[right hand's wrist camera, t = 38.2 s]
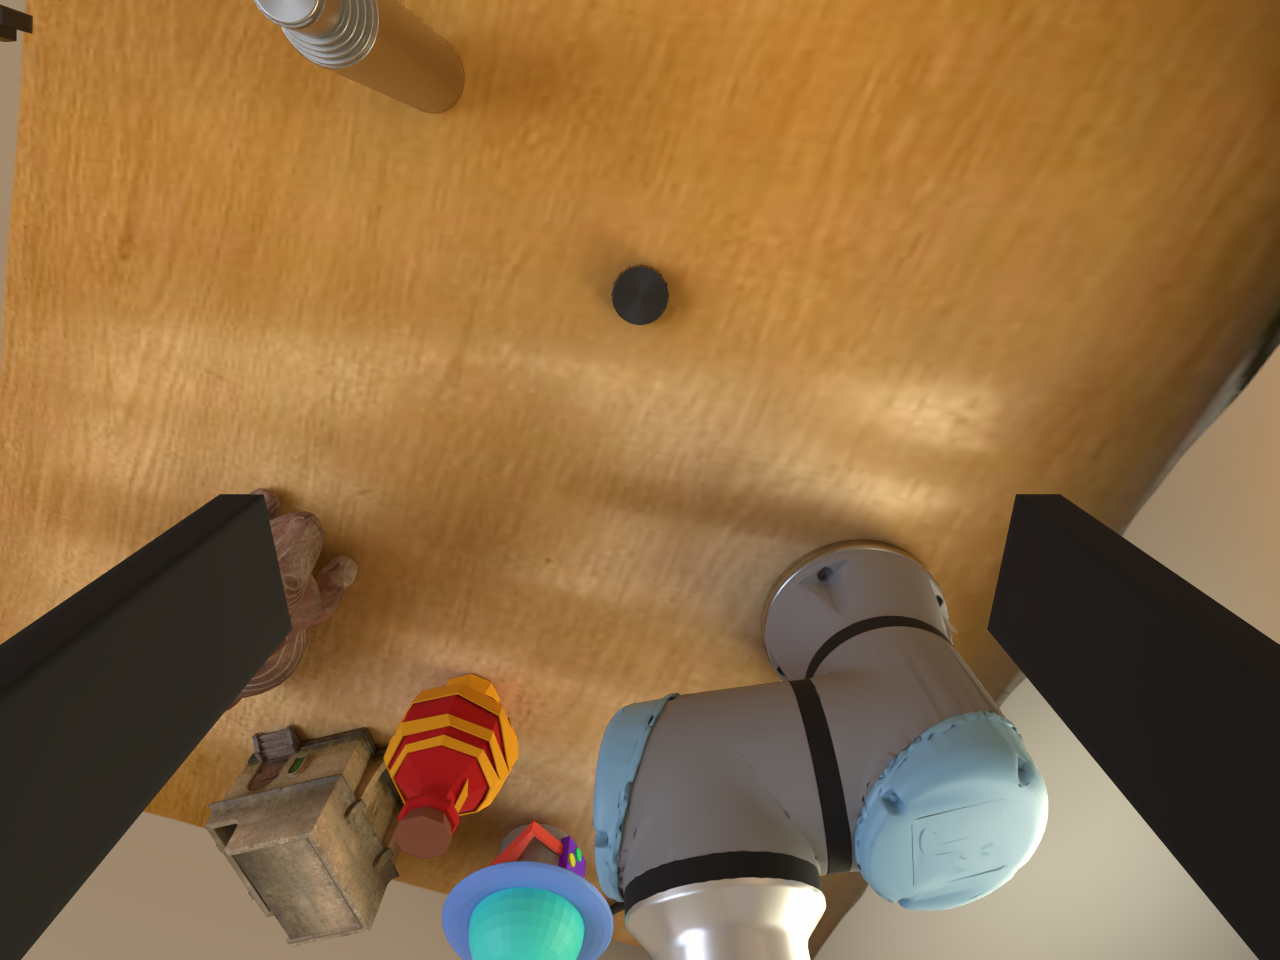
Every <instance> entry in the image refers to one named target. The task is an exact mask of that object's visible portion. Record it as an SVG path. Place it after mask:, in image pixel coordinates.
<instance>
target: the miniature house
mask: <svg viewBox="0 0 1280 960" xmlns="http://www.w3.org/2000/svg"><path fill="white" fill-rule="evenodd" d="M252 738H253V741H254V746H255V751H256V753H254V754H252V756H251V757H250V758H249V760H248V764H247V766H246V767H245V769H244V770H243V771H242V773H241V774H240V776H239V777H238V779H237V780H236V781H235V783H234V784H233V786H232V787H231V788H230V790H229V791H228V793H227V794H226V796H225V797H224V798H223V800H222V801H218V802H214V803H210V804H209V807H210V809H211V816H210V818H209V820H208V821H207V823H206V824H205V827H206V829H207V830H208V832H209V833H210V835H211V836H212V838H213V839H214V840H215V842H216V843H217V845H216V846H217V848H218V849H219V850H220V852H223V854H224V855H225V857H226V858H227V860H228V861H229V863H230V864H231V866H232V867H233V868H234V870H235V871H236V873H237V874H238V876H239V877H240V879H241V880H242V882H243V883H244V885H245V886H246V888H247V889H248V891H249V895H250V896H251V898H252V899H253V900H254V899H255V901H256V902H257V904H258V905H259V907H260V908H261V910H262V911H263V913H264V914H265V916H266V917H270V916H275V917H276V919H277V920H278V922H279V923H280V925H281V926H282V928H283V929H284V931H285V932H286V933H287V935H288V937H287V943H288V944H289V946H291V947H293V946H298V945H303V944H308V943H313V942H318V941H322V940H327V939H332V938H337V937H342V936H347V935H352V934H357V933H362V932H367V931H370V930H371V927H372V924H373V922H374V919H375V916H376V914H377V911H378V908H379V906H380V903H381V900H382V897H383V895H384V892H385V890H386V887H387V885H388V883H389V882H390V881H391V880H392V879H393V878H397V877H399V874H398V872H397V870H396V868H395V867H394V865H395V863H396V860H397V857H398V855H399V852H400V847H399V846H398V844H397V842H396V840H395V839H394V837H393V834H394V833H395V831H396V829H397V827H398V825H399V823H400V822H399V819H398V816H399V814H400V812H401V810H402V808H403V806H404V803H403V801H402V799H401V797H400V795H399V793H398V791H397V789H396V787H395V785H394V783H393V781H392V778H391V776H390V774H389V771H388V770H387V768H386V765H385V762H384V755H385V753H386V750H387V748H388V747H387V748H382V749H377V747H376V745H375V743H374V741H373V739H372V737H371V735H370V734H369V732H368V730H367V728H360V729H356V730H352V731H348V732H343V733H339V734H335V735H331V736H326V737H322V738H318V739H314V740H309V741H305V742H300V740H299V739H298V737H297V735H296V733H295V732H294V730H293V728H292V727H291V725H290V726H287V728H286V729H285V730H281V731H277V732H273V733H269V734H265V735H260V736H259V734H258V733H257V734H254V736H252Z"/></svg>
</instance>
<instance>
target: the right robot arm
mask: <svg viewBox="0 0 1280 960" xmlns="http://www.w3.org/2000/svg"><path fill="white" fill-rule="evenodd" d="M761 630H762V637H763V641H764V645H765V649H766V652H767V655H768V658H769V660H770V662H771V664H772V666H773V668H774V669H775V671H776V672H777V674H778V675H779V677H780V678H781V679H782V680H783V681H782V682H775V683H768V684H760V685H753V686H745V687H738V688H730V689H723V690H715V691H708V692H700V693H693V694H685V695H680V694H678V693H671V694H668V695H666V696H665V697H664V698H662V699H656V700H651V701H645V702H640V703H634V704H630V705H627V706H625V707H623V708H622V709H620V710H619V711H618V712H617V713H616V714H615V715H614V716H613V718H612V719H611V721H610V722H609V724H608V725H607V728H606V730H605V733H604V735H603V739H602V742H601V746H600V751H599V756H598V762H597V769H596V778H595V790H594V807H593V825H594V828H595V830H596V836H595V864H596V870H597V875H598V879H599V883H600V886H601V888H602V890H603V892H604V893H605V894H606V895H607V896H608V897H609V898H610V899H615V900H616V901H618V902H617V903H615V904H613V905H611V906H610V909H611V913H612V915H614V914H616V913H617V912H619V911H622V910H624V909H625V924H626V929H627V930H628V932H629V933H630V934H631V935H632V936H633V937H634V938H635V939H636V940H637V941H638V942H639V943H640V944H641V945H642V946H643V947H644V948H645V949H646V950H647V951H648V952H649V954H650V955H651V957H652V959H653V960H810V956H809V951H808V939H809V937H810V935H811V934H812V932H813V930H814V929H815V927H816V925H817V923H818V922H819V920H820V918H821V916H822V915H823V913H824V911H825V908H826V902H825V897H824V894H823V889H822V885H821V880H820V876H821V875H825V874H826V875H827V874H833V873H841V872H852V871H860V872H861V874H862V877H863V879H864V880H865V881H867V883H868V884H869V885H870V886H871V887H872V889H873V890H874V891H875V892H876V893H877V894H878V895H880V896H881V897H882V898H883V899H885V900H887V901H889V902H891V903H894V902H896V901H898V902H899V904H900V905H901V906H902V907H904V908H907V909H911V910H919V911H936V910H943V909H949V908H954V907H958V906H961V905H964V904H967V903H970V902H973V901H975V900H977V899H980V898H982V897H984V896H986V895H987V894H989V893H991V892H993V891H994V890H996V889H997V888H999V887H1000V886H1002V885H1003V884H1004V883H1006V882H1007V881H1008V880H1010V879H1011V878H1012V877H1013V875H1014V873H1015V872H1016V871H1017V870H1018V869H1019V868H1020V867H1022V866H1023V865H1024V864H1025V863H1026V862H1027V861H1028V860H1029V859H1030V857H1031V856H1032V854H1033V853H1034V851H1035V850H1036V848H1037V846H1038V845H1039V842H1040V840H1041V838H1042V836H1043V833H1044V830H1045V827H1046V823H1047V818H1048V794H1047V789H1046V785H1045V782H1044V780H1043V777H1042V775H1041V773H1040V771H1039V769H1038V767H1037V766H1036V764H1035V762H1034V761H1033V759H1032V757H1031V756H1030V754H1029V752H1028V751H1027V749H1026V747H1025V745H1024V744H1023V740H1022V737H1021V735H1020V734H1019V732H1018V730H1017V728H1016V727H1015V726H1014V724H1013V723H1012V722H1010V721H1009V720H1008V719H1006V717H1005V716H1004V715H1003V713H1002V712H1001V710H1000V709H999V708H998V706H997V705H996V704H995V702H994V701H993V699H992V698H991V697H990V695H989V694H988V693H987V691H986V690H985V689H984V687H983V686H982V684H981V683H980V682H979V680H978V679H977V678H976V676H975V675H974V673H973V672H972V671H971V669H970V668H969V667H968V665H967V664H966V662H965V661H964V660H963V658H962V657H961V656H960V654H959V653H958V652H957V650H956V649H955V647H954V646H953V644H952V637H951V631H950V630H952V631H954V632H956V633H957V634H958V632H957V631H956V630H955V628H954V627H953V626H952V624H950V623H949V617H948V612H947V607H946V603H945V600H944V597H943V595H942V592H941V590H940V588H939V586H938V584H937V583H936V581H935V580H934V579H933V577H932V576H931V575H930V573H929V572H928V571H927V570H926V568H925V567H924V566H923V565H922V564H921V563H920V562H919V561H918V560H917V559H915V558H914V557H913V556H911V555H910V554H909V553H907V552H905V551H903V550H901V549H899V548H897V547H895V546H892V545H889V544H885V543H881V542H876V541H868V540H854V541H845V542H839V543H834V544H830V545H827V546H824V547H822V548H819V549H817V550H815V551H812V552H811V553H809V554H807V555H805V556H803V557H802V558H800V559H799V560H797V561H796V562H795V563H794V564H792V565H791V566H790V567H789V568H788V569H787V570H786V571H785V572H784V573H783V574H782V575H781V576H780V577H779V578H778V580H777V581H776V582H775V584H774V585H773V587H772V589H771V590H770V592H769V594H768V596H767V599H766V601H765V604H764V608H763V612H762V620H761ZM291 631H292V624H291V620H290V615H289V610H288V605H287V601H286V596H285V591H284V587H283V582H282V577H281V572H280V568H279V563H278V558H277V554H276V549H275V544H274V540H273V535H272V530H271V525H270V521H269V516H268V511H267V507H266V502H265V497H264V494H220V495H218V496H217V497H215V498H214V499H213V500H211V501H210V502H208V503H207V504H205V505H204V506H202V507H201V508H199V509H198V510H197V511H195V512H194V513H192V514H191V515H189V516H188V517H186V518H185V519H183V520H182V521H180V522H179V523H178V524H176V525H175V526H173V527H172V528H170V529H169V530H167V531H166V532H164V533H163V534H161V535H160V536H159V537H157V538H156V539H154V540H153V541H151V542H150V543H148V544H147V545H145V546H144V547H143V548H141V549H140V550H138V551H137V552H135V553H134V554H132V555H131V556H129V557H128V558H126V559H125V560H124V561H122V562H121V563H119V564H118V565H116V566H115V567H113V568H112V569H110V570H109V571H108V572H106V573H105V574H103V575H102V576H100V577H99V578H97V579H96V580H94V581H93V582H91V583H90V584H89V585H87V586H86V587H84V588H83V589H81V590H80V591H78V592H77V593H75V594H74V595H72V596H71V597H70V598H68V599H67V600H65V601H64V602H62V603H61V604H59V605H58V606H56V607H55V608H54V609H52V610H51V611H49V612H48V613H46V614H45V615H43V616H42V617H40V618H39V619H37V620H36V621H35V622H33V623H32V624H30V625H29V626H27V627H26V628H24V629H23V630H21V631H20V632H18V633H17V634H16V635H14V636H13V637H11V638H10V639H8V640H7V641H5V642H4V643H2V644H1V645H0V960H21V959H22V958H23V956H24V955H25V954H26V953H27V952H28V950H29V949H30V948H31V947H32V946H33V944H34V943H35V942H36V941H37V939H38V938H39V937H40V936H41V935H42V933H43V932H44V931H45V930H46V929H47V927H48V926H49V925H50V924H51V922H52V921H53V920H54V919H55V918H56V916H57V915H58V914H59V913H60V911H61V910H62V909H63V908H64V907H65V905H66V904H67V903H68V902H69V901H70V899H71V898H72V897H73V896H74V894H75V893H76V892H77V891H78V890H79V888H80V887H81V886H82V885H83V884H84V882H85V881H86V880H87V879H88V877H89V876H90V875H91V874H92V873H93V871H94V870H95V869H96V868H97V866H98V865H99V864H100V863H101V862H102V860H103V859H104V858H105V857H106V855H107V854H108V853H109V852H110V851H111V849H112V848H113V847H114V846H115V845H116V843H117V842H118V841H119V840H120V839H121V837H122V836H123V835H124V834H125V832H126V831H127V830H128V829H129V828H130V826H131V825H132V824H133V823H134V821H135V820H136V819H137V818H138V817H139V815H140V814H141V813H142V812H143V811H144V809H145V808H146V807H147V806H148V804H149V803H150V802H151V801H152V800H153V798H154V797H155V796H156V795H157V794H158V792H159V791H160V790H161V789H162V787H163V786H164V785H165V784H166V783H167V781H168V780H169V779H170V778H171V776H172V775H173V774H174V773H175V772H176V770H177V769H178V768H179V767H180V766H181V764H182V763H183V762H184V761H185V759H186V758H187V757H188V756H189V755H190V753H191V752H192V751H193V750H194V748H195V747H196V746H197V745H198V744H199V742H200V741H201V740H202V739H203V738H204V736H205V735H206V734H207V733H208V731H209V730H210V729H211V728H212V727H213V725H214V724H215V723H216V722H217V721H218V719H219V718H220V717H221V716H222V714H223V713H224V712H225V711H226V710H227V708H228V707H229V706H230V705H231V703H232V702H233V701H234V700H235V699H236V697H237V696H238V695H239V694H240V693H241V691H242V690H243V689H244V688H245V686H246V685H247V684H248V683H249V682H250V680H251V679H252V678H253V677H254V676H255V674H256V673H257V672H258V671H259V669H260V668H261V667H262V666H263V665H264V663H265V662H266V661H267V660H268V658H269V657H270V656H271V655H272V654H273V652H274V651H275V650H276V649H277V648H278V646H279V645H280V644H281V643H282V641H283V640H284V639H285V638H286V637H287V635H288V634H289V633H290V632H291ZM988 631H989V632H990V633H991V634H992V635H993V637H994V638H995V639H996V640H997V641H998V643H999V644H1000V645H1001V646H1002V648H1003V649H1004V650H1005V651H1006V652H1007V654H1008V655H1009V656H1010V657H1011V658H1012V660H1013V661H1014V662H1015V663H1016V665H1017V666H1018V667H1019V668H1020V669H1021V671H1022V672H1023V673H1024V674H1025V676H1026V677H1027V678H1028V679H1029V680H1030V682H1031V683H1032V684H1033V685H1034V686H1035V688H1036V689H1037V690H1038V691H1039V692H1040V694H1041V695H1042V696H1043V697H1044V699H1045V700H1046V701H1047V702H1048V703H1049V705H1050V706H1051V707H1052V708H1053V710H1054V711H1055V712H1056V713H1057V714H1058V716H1059V717H1060V718H1061V719H1062V720H1063V722H1064V723H1065V724H1066V725H1067V727H1068V728H1069V729H1070V730H1071V731H1072V733H1073V734H1074V735H1075V736H1076V738H1077V739H1078V740H1079V741H1080V742H1081V744H1082V745H1083V746H1084V747H1085V749H1086V750H1087V751H1088V752H1089V753H1090V755H1091V756H1092V757H1093V758H1094V759H1095V761H1096V762H1097V763H1098V764H1099V766H1100V767H1101V768H1102V769H1103V770H1104V772H1105V773H1106V774H1107V775H1108V776H1109V778H1110V779H1111V780H1112V781H1113V783H1114V784H1115V785H1116V786H1117V787H1118V789H1119V790H1120V791H1121V792H1122V794H1123V795H1124V796H1125V797H1126V798H1127V800H1128V801H1129V802H1130V803H1131V804H1132V806H1133V807H1134V808H1135V809H1136V811H1137V812H1138V813H1139V814H1140V815H1141V817H1142V818H1143V819H1144V820H1145V821H1146V823H1147V824H1148V825H1149V826H1150V828H1151V829H1152V830H1153V831H1154V832H1155V834H1156V835H1157V836H1158V837H1159V839H1160V840H1161V841H1162V842H1163V843H1164V845H1165V846H1166V847H1167V848H1168V849H1169V851H1170V852H1171V853H1172V854H1173V855H1174V857H1175V858H1176V859H1177V860H1178V862H1179V863H1180V864H1181V865H1182V866H1183V868H1184V869H1185V870H1186V871H1187V873H1188V874H1189V875H1190V876H1191V877H1192V879H1193V880H1194V881H1195V882H1196V884H1197V885H1198V886H1199V887H1200V888H1201V890H1202V891H1203V892H1204V893H1205V894H1206V896H1207V897H1208V898H1209V899H1210V901H1211V902H1212V903H1213V904H1214V905H1215V906H1216V908H1217V909H1218V910H1219V911H1220V913H1221V914H1222V915H1223V916H1224V918H1225V919H1226V920H1227V921H1228V922H1229V924H1230V925H1231V926H1232V927H1233V929H1234V930H1235V931H1236V932H1237V933H1238V935H1239V936H1240V937H1241V938H1242V939H1243V941H1244V942H1245V943H1246V944H1247V946H1248V947H1249V948H1250V949H1251V950H1252V952H1253V953H1254V954H1255V955H1256V956H1257V958H1258V959H1259V960H1280V644H1278V643H1276V642H1275V641H1273V640H1272V639H1270V638H1269V637H1267V636H1266V635H1264V634H1263V633H1261V632H1260V631H1258V630H1257V629H1256V628H1254V627H1253V626H1251V625H1250V624H1248V623H1247V622H1245V621H1244V620H1242V619H1241V618H1240V617H1238V616H1237V615H1235V614H1234V613H1232V612H1231V611H1229V610H1228V609H1226V608H1225V607H1224V606H1222V605H1221V604H1219V603H1218V602H1216V601H1215V600H1213V599H1212V598H1210V597H1209V596H1207V595H1206V594H1205V593H1203V592H1202V591H1200V590H1199V589H1197V588H1196V587H1194V586H1193V585H1191V584H1190V583H1188V582H1187V581H1186V580H1184V579H1183V578H1181V577H1180V576H1178V575H1177V574H1175V573H1174V572H1172V571H1171V570H1170V569H1168V568H1167V567H1165V566H1164V565H1162V564H1161V563H1159V562H1158V561H1156V560H1155V559H1154V558H1152V557H1151V556H1149V555H1148V554H1146V553H1145V552H1143V551H1142V550H1140V549H1139V548H1137V547H1136V546H1135V545H1133V544H1132V543H1130V542H1129V541H1127V540H1126V539H1124V538H1123V537H1121V536H1120V535H1119V534H1117V533H1116V532H1114V531H1113V530H1111V529H1110V528H1108V527H1107V526H1105V525H1104V524H1102V523H1101V522H1100V521H1098V520H1097V519H1095V518H1094V517H1092V516H1091V515H1089V514H1088V513H1086V512H1085V511H1083V510H1082V509H1081V508H1079V507H1078V506H1076V505H1075V504H1073V503H1072V502H1070V501H1069V500H1067V499H1066V498H1065V497H1063V496H1062V495H1060V494H1016V497H1015V502H1014V507H1013V511H1012V516H1011V521H1010V525H1009V530H1008V535H1007V540H1006V544H1005V549H1004V554H1003V558H1002V563H1001V568H1000V572H999V577H998V582H997V587H996V591H995V596H994V601H993V605H992V610H991V615H990V620H989V624H988Z"/></svg>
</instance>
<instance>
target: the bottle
mask: <svg viewBox="0 0 1280 960" xmlns="http://www.w3.org/2000/svg"><path fill="white" fill-rule="evenodd" d="M254 2H255V3H256V5H257V6H258V8H259V10H260V11H261V12H262V13H263V14H264V15H265V16H266V17H267V18H268V19H269V20H271V21H272V22H274V23H275V24H277V25H279V26H281V28H282V30H283V32H284V34H285V35H286V37H287V38H288V40H289V41H290V43H291V44H292V45H293V46H294V47H295V48H296V49H297V51H298V52H299V53H301V54H302V55H303V56H304V57H305V58H307V59H308V60H309V61H311V62H313V63H315V64H317V65H319V66H321V67H324V68H326V69H328V70H330V71H333V72H335V73H337V74H340V75H342V76H344V77H346V78H349V79H351V80H353V81H355V82H358V83H360V84H362V85H365V86H367V87H369V88H371V89H374V90H376V91H378V92H380V93H383V94H385V95H387V96H390V97H392V98H394V99H396V100H399V101H401V102H403V103H406V104H408V105H410V106H412V107H415V108H417V109H419V110H422V111H424V112H428V113H439V112H443V111H446V110H448V109H449V108H451V107H452V106H453V105H454V104H455V103H456V102H457V101H458V99H459V98H460V96H461V93H462V91H463V87H464V70H463V66H462V63H461V60H460V58H459V56H458V55H457V53H456V52H455V50H454V49H453V48H452V47H451V46H450V45H449V44H448V43H447V42H446V41H444V40H443V39H442V38H441V37H440V36H438V35H437V34H436V33H435V32H434V31H433V30H431V29H430V28H429V27H428V26H427V25H425V24H424V23H423V22H422V21H421V20H420V19H418V18H417V17H416V16H415V15H414V14H413V13H411V12H410V11H409V10H408V9H407V8H405V7H404V6H403V5H402V4H401V3H400V2H398V1H397V0H254Z"/></svg>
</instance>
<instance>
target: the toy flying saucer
mask: <svg viewBox="0 0 1280 960" xmlns="http://www.w3.org/2000/svg"><path fill="white" fill-rule="evenodd" d="M585 863H586V861H585V859H584V858H583V856H582V854H581V851H580V849H579V848H577V846H576V843H575V841H574V840H573V839H572V837H571V836H570V835H568V834H567V833H566V832H565V831H563V830H561V829H560V828H557V827H555V826H552V825H547V824H539V823H536V822H535V821H533V822H532V823H531V824H527V825H522V826H520V827H517V828H515V829H513V830H512V831H510V832H509V833H508V834H507V835H506V836H505V837H504V839H503V841H502V843H501V846H500V850H499V854H498V857H497V858H496V859H495V860H494V861H493V862H492V863H491V864H490V865H489V866H488V867H485V868H482V869H480V870H478V871H476V872H474V873H472V874H471V875H469V876H468V877H466V878H465V879H463V880H462V881H461V882H460V883H458V884H457V885H456V886H455V887H454V889H453V890H452V891H451V892H450V894H449V895H448V897H447V899H446V901H445V904H444V907H443V911H442V925H443V930H444V933H445V935H446V938H447V940H448V942H449V943H450V945H451V946H452V948H453V949H454V951H455V952H456V953H457V954H458V955H459V956H460V957H461V958H462V959H463V960H597V959H598V958H599V957H600V956H601V955H602V954H603V953H604V951H605V950H606V948H607V947H608V945H609V943H610V941H611V937H612V934H613V916H612V913H611V909H610V907H609V905H608V903H607V901H606V900H605V898H604V897H603V895H602V894H601V893H600V892H599V891H598V890H597V889H596V888H595V887H594V886H593V885H592V884H591V883H590V882H588V881H587V880H586V879H585V878H584V875H585Z"/></svg>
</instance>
